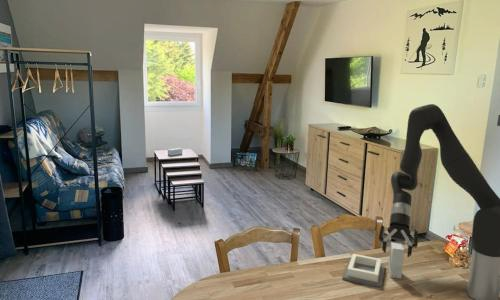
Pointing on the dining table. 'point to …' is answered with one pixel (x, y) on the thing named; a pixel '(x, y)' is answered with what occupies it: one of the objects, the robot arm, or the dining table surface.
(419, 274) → the dining table surface
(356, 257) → the socket plate
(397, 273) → the skincare box
